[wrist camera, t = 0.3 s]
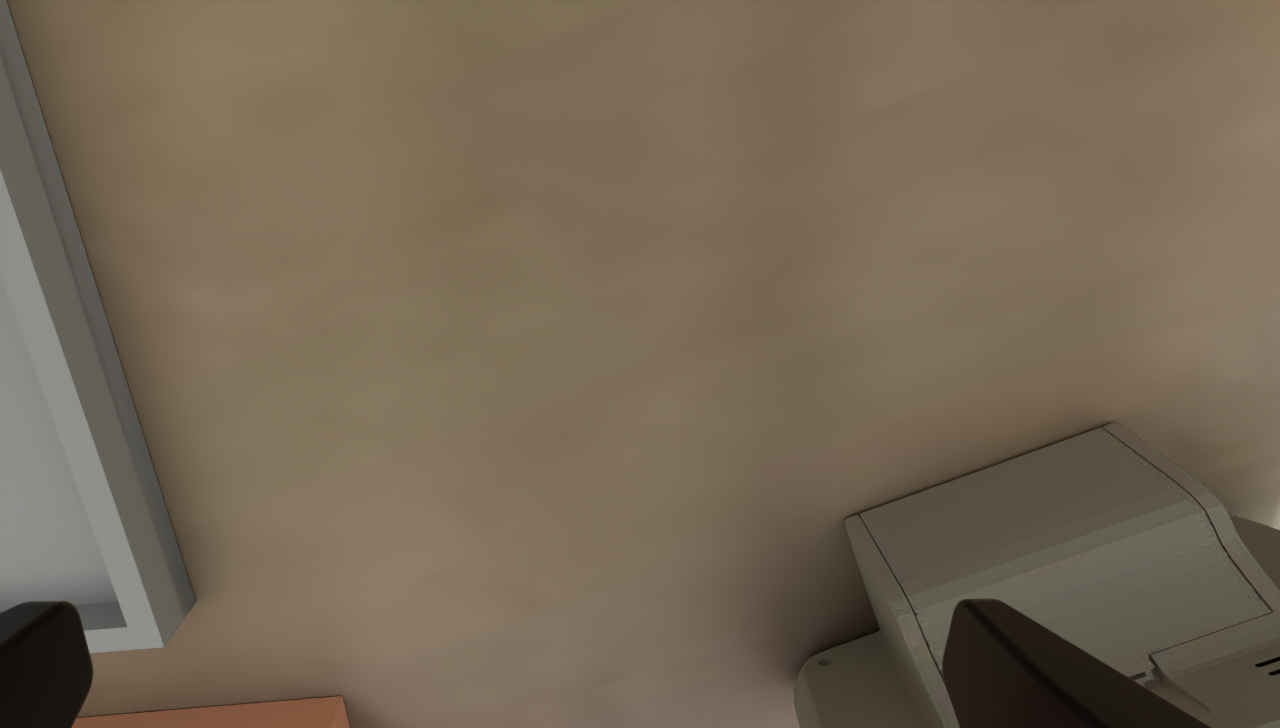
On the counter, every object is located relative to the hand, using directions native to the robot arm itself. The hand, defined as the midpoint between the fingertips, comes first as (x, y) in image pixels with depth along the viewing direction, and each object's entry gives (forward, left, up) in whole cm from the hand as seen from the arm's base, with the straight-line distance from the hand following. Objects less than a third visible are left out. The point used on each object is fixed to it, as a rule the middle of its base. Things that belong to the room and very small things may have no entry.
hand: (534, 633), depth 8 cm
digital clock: (-11, -13, -15) cm, 23 cm away
